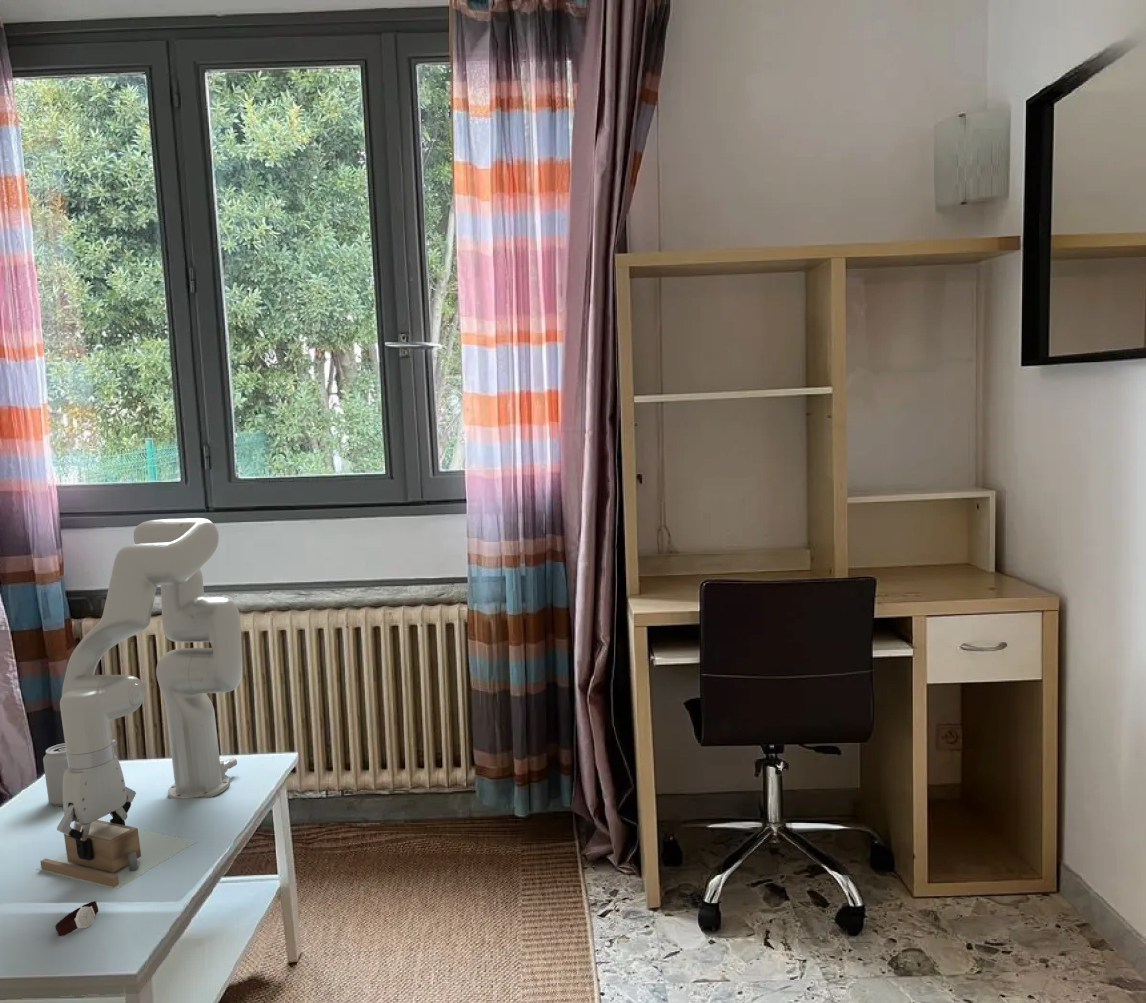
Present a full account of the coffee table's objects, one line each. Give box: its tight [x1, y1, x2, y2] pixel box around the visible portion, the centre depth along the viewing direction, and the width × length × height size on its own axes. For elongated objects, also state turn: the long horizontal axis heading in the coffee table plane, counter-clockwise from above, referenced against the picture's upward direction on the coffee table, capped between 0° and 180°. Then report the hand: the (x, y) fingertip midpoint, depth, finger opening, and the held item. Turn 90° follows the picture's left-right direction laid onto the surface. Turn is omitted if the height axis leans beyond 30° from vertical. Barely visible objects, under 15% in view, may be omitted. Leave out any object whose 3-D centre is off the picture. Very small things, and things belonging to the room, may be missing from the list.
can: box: [42, 742, 68, 807], centre depth 207 cm, size 8×8×12 cm
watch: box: [54, 900, 100, 937], centre depth 157 cm, size 8×5×4 cm, turn 165°
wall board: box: [36, 828, 198, 890], centre depth 178 cm, size 18×21×4 cm
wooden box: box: [63, 819, 141, 872], centre depth 175 cm, size 6×12×6 cm, turn 65°
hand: (103, 848), depth 175 cm, fingers open, 6 cm apart
